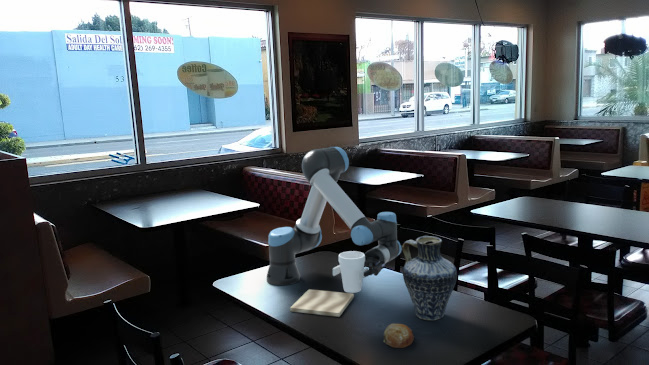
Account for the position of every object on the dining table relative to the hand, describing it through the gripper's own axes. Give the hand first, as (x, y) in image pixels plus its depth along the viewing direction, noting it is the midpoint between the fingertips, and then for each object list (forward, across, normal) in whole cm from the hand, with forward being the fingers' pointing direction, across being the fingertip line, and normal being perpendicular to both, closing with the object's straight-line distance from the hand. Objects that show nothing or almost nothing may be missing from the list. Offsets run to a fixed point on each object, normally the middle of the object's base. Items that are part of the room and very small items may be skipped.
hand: (345, 274), depth 187 cm
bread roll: (0, -21, -20) cm, 29 cm away
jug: (-23, -21, -20) cm, 37 cm away
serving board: (-13, +20, -20) cm, 31 cm away
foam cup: (-4, 0, -7) cm, 8 cm away
